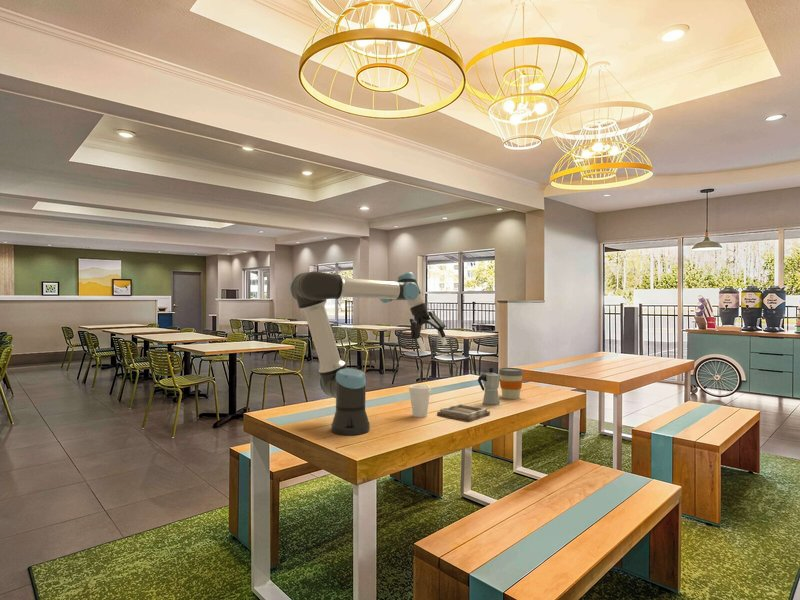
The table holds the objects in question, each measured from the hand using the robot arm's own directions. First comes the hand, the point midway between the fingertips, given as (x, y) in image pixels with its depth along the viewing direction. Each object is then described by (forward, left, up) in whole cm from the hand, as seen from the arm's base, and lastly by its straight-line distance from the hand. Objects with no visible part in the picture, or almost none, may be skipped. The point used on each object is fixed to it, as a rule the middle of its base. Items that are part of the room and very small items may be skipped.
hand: (434, 347), depth 210 cm
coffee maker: (+35, -8, -30) cm, 47 cm away
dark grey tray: (+6, -12, -30) cm, 33 cm away
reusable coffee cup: (+57, -8, -30) cm, 65 cm away
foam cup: (-8, +2, -30) cm, 31 cm away
